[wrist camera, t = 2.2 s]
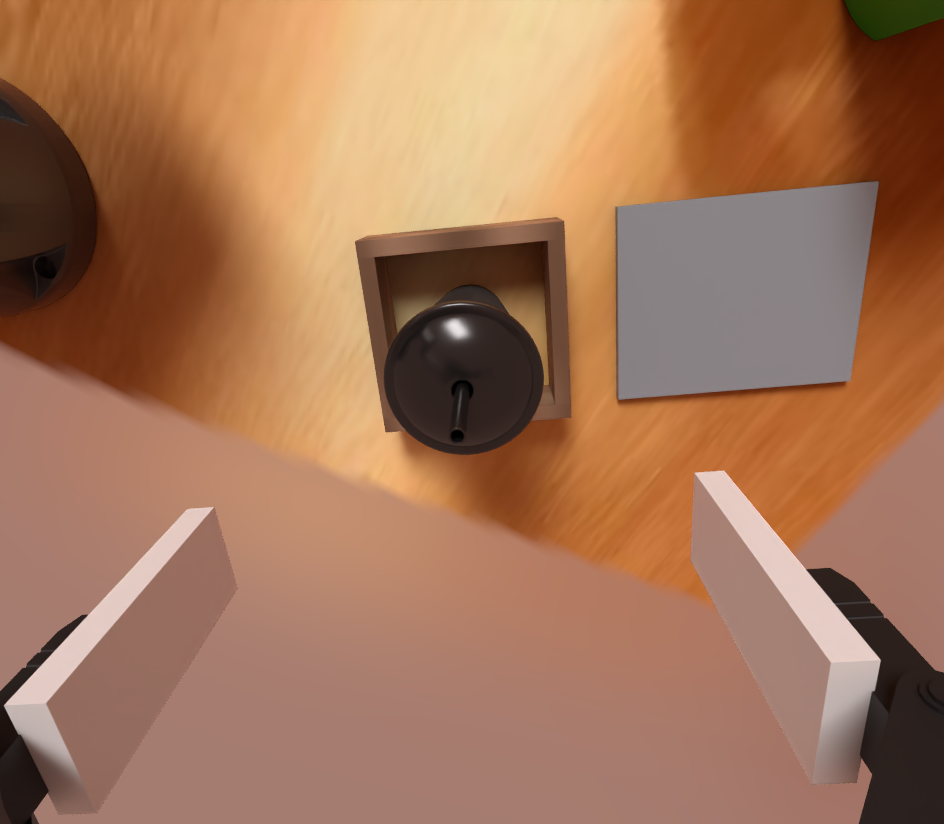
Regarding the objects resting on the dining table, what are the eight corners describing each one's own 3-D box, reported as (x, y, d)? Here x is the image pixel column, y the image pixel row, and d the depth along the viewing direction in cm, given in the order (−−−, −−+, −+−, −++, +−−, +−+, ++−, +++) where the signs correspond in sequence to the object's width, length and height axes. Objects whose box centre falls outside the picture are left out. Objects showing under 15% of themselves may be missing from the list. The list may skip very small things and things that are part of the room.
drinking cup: (393, 331, 41) (316, 454, 22) (458, 239, 39) (432, 292, 20) (481, 393, 42) (477, 557, 24) (548, 309, 40) (602, 418, 21)
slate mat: (616, 396, 42) (618, 399, 42) (615, 206, 38) (617, 207, 37) (845, 378, 41) (850, 380, 41) (873, 181, 37) (879, 181, 36)
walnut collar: (394, 410, 43) (385, 432, 39) (367, 235, 39) (354, 241, 35) (563, 397, 42) (571, 417, 39) (556, 217, 38) (564, 221, 34)
